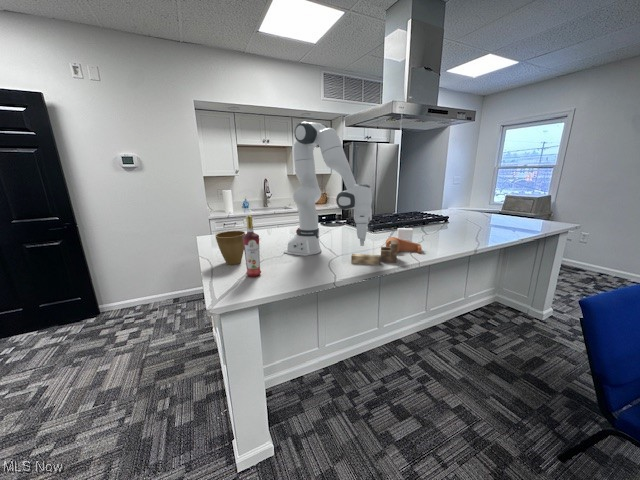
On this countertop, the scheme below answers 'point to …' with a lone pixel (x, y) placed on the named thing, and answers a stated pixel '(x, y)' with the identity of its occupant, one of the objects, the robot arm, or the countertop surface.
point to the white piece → (405, 234)
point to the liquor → (251, 250)
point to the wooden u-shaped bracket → (389, 252)
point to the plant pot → (231, 246)
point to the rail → (366, 259)
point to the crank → (404, 245)
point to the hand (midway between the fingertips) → (362, 243)
